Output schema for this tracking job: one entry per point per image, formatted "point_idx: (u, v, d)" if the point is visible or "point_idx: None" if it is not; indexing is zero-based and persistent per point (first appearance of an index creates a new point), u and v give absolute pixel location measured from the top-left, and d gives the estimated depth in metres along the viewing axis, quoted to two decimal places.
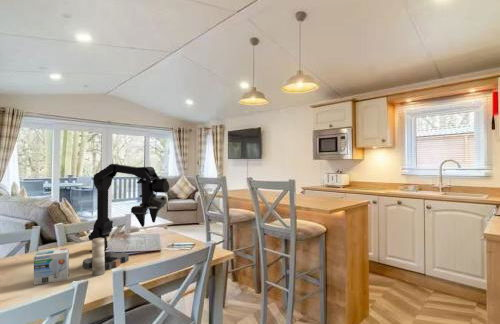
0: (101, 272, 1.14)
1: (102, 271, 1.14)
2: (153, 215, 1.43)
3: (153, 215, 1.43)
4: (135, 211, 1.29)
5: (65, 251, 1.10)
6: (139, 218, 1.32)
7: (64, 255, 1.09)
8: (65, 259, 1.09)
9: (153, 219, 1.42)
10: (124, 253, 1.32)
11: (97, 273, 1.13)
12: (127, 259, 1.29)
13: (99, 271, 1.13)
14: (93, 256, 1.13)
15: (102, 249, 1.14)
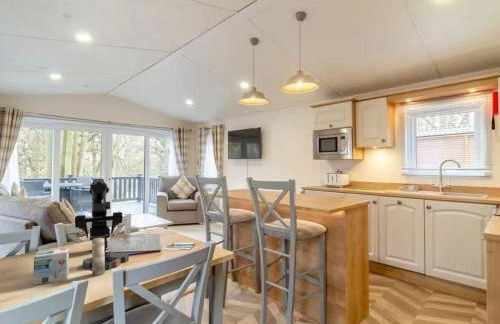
0: (101, 272, 1.14)
1: (102, 271, 1.14)
2: None
3: None
4: (75, 223, 1.23)
5: (65, 251, 1.10)
6: (84, 230, 1.22)
7: (64, 255, 1.09)
8: (65, 259, 1.09)
9: (111, 231, 1.25)
10: (124, 253, 1.32)
11: (97, 273, 1.13)
12: (127, 259, 1.29)
13: (99, 271, 1.13)
14: (93, 256, 1.13)
15: (102, 249, 1.14)
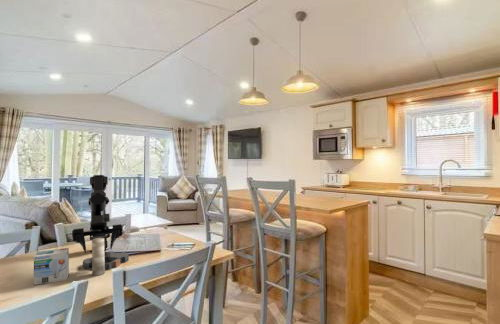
0: (101, 272, 1.14)
1: (102, 271, 1.14)
2: None
3: (111, 241, 1.20)
4: None
5: (65, 251, 1.10)
6: (82, 244, 1.16)
7: (64, 255, 1.09)
8: (65, 259, 1.09)
9: (110, 245, 1.19)
10: (124, 253, 1.32)
11: (97, 273, 1.13)
12: (127, 259, 1.29)
13: (99, 271, 1.13)
14: (93, 256, 1.13)
15: (102, 249, 1.14)
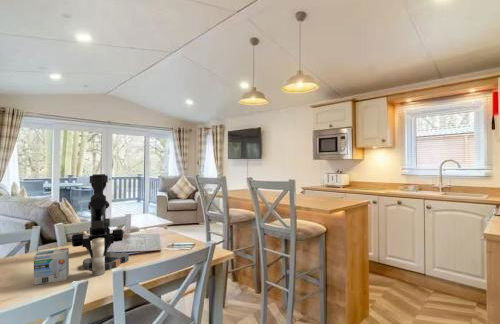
0: (101, 272, 1.14)
1: (102, 271, 1.14)
2: (105, 247, 1.17)
3: None
4: (72, 242, 1.14)
5: (65, 251, 1.10)
6: (88, 249, 1.15)
7: (64, 255, 1.09)
8: (65, 259, 1.09)
9: None
10: (124, 253, 1.32)
11: (97, 273, 1.13)
12: (127, 259, 1.29)
13: (99, 271, 1.13)
14: (93, 256, 1.13)
15: (102, 249, 1.14)
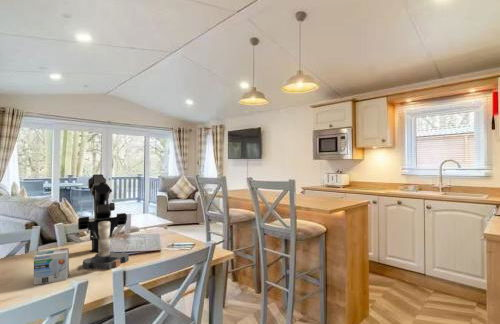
0: (107, 253, 1.19)
1: (108, 252, 1.20)
2: (110, 230, 1.23)
3: None
4: (78, 225, 1.19)
5: (65, 251, 1.10)
6: (94, 231, 1.20)
7: (64, 255, 1.09)
8: (65, 259, 1.09)
9: (110, 234, 1.21)
10: (124, 253, 1.32)
11: (103, 254, 1.19)
12: (127, 259, 1.29)
13: (105, 252, 1.19)
14: (99, 238, 1.18)
15: (108, 231, 1.20)
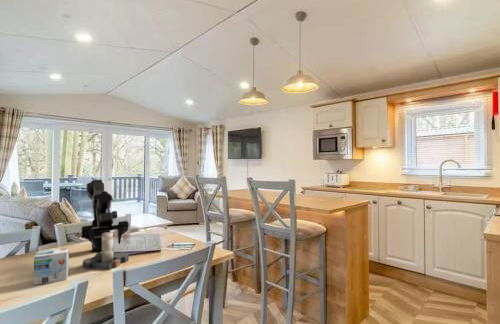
0: None
1: None
2: (118, 237, 1.27)
3: (118, 236, 1.27)
4: (81, 233, 1.22)
5: (65, 251, 1.10)
6: (91, 240, 1.22)
7: (64, 255, 1.09)
8: (65, 259, 1.09)
9: (118, 240, 1.26)
10: (124, 253, 1.32)
11: None
12: (127, 259, 1.29)
13: None
14: (103, 249, 1.22)
15: (111, 242, 1.23)
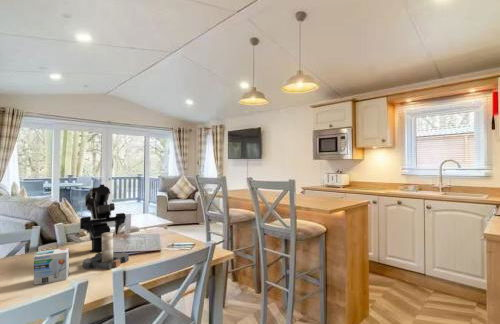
0: None
1: None
2: (115, 228, 1.33)
3: (116, 228, 1.33)
4: (80, 224, 1.28)
5: (65, 251, 1.10)
6: (89, 231, 1.28)
7: (64, 255, 1.09)
8: (65, 259, 1.09)
9: (115, 231, 1.32)
10: (124, 253, 1.32)
11: None
12: (127, 259, 1.29)
13: None
14: (103, 249, 1.22)
15: (111, 242, 1.23)
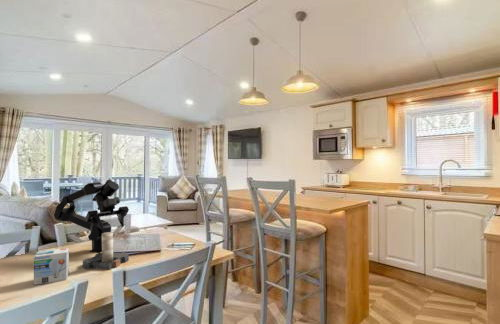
0: None
1: None
2: (120, 220, 1.40)
3: (120, 220, 1.41)
4: (87, 218, 1.32)
5: (65, 251, 1.10)
6: (97, 224, 1.33)
7: (64, 255, 1.09)
8: (65, 259, 1.09)
9: (121, 223, 1.39)
10: (124, 253, 1.32)
11: None
12: (127, 259, 1.29)
13: None
14: (103, 249, 1.22)
15: (111, 242, 1.23)
